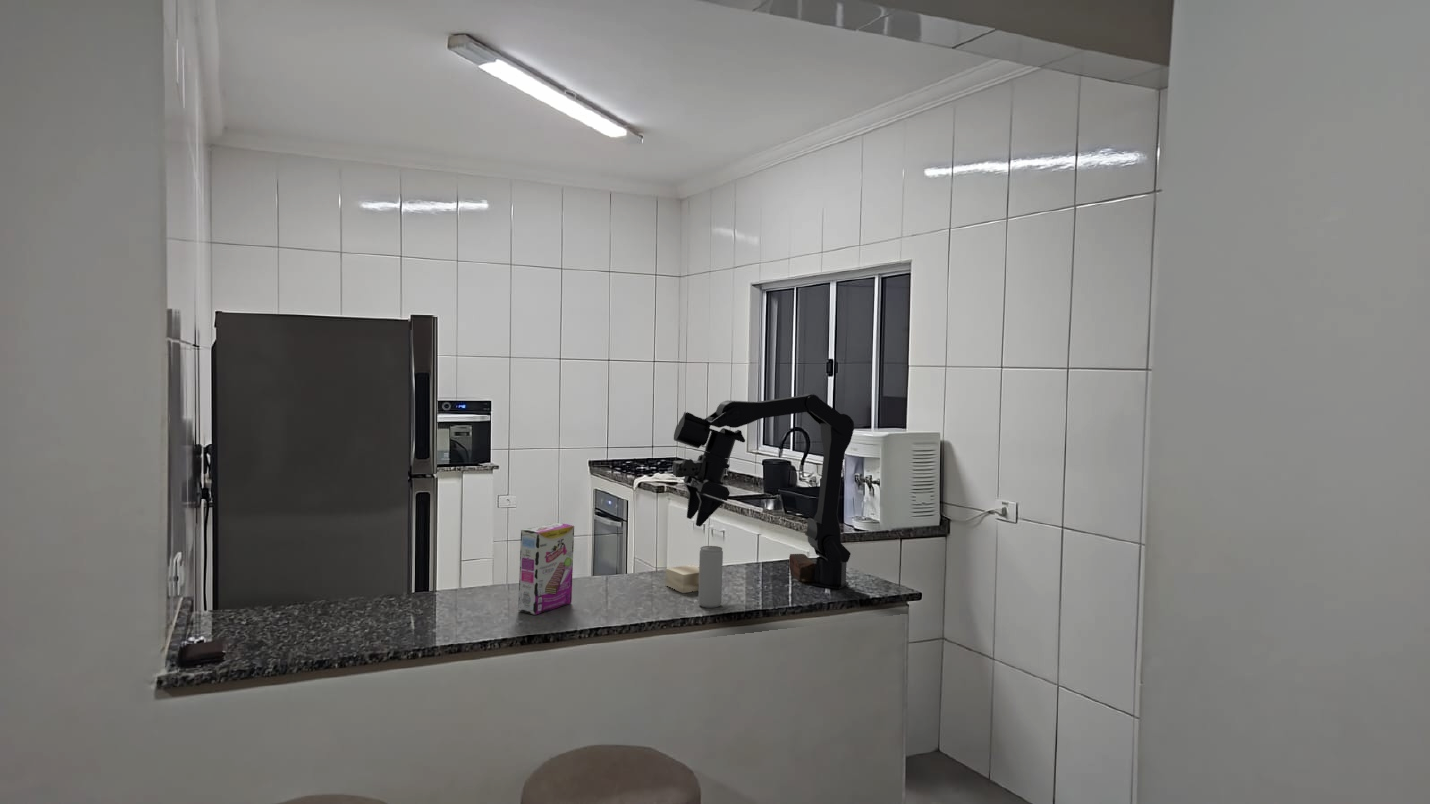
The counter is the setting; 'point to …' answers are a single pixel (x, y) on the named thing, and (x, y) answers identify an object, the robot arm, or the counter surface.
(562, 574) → the candy bar box
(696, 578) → the maple block
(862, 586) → the counter surface
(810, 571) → the brick
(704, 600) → the beverage can
